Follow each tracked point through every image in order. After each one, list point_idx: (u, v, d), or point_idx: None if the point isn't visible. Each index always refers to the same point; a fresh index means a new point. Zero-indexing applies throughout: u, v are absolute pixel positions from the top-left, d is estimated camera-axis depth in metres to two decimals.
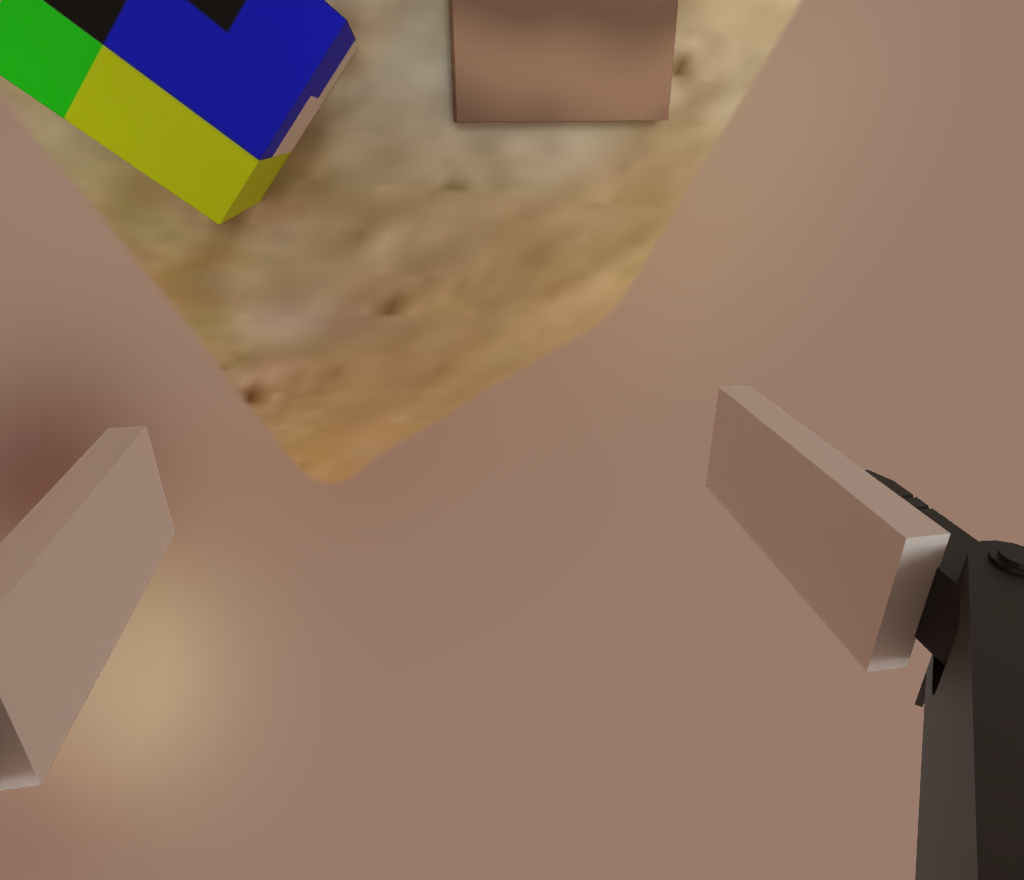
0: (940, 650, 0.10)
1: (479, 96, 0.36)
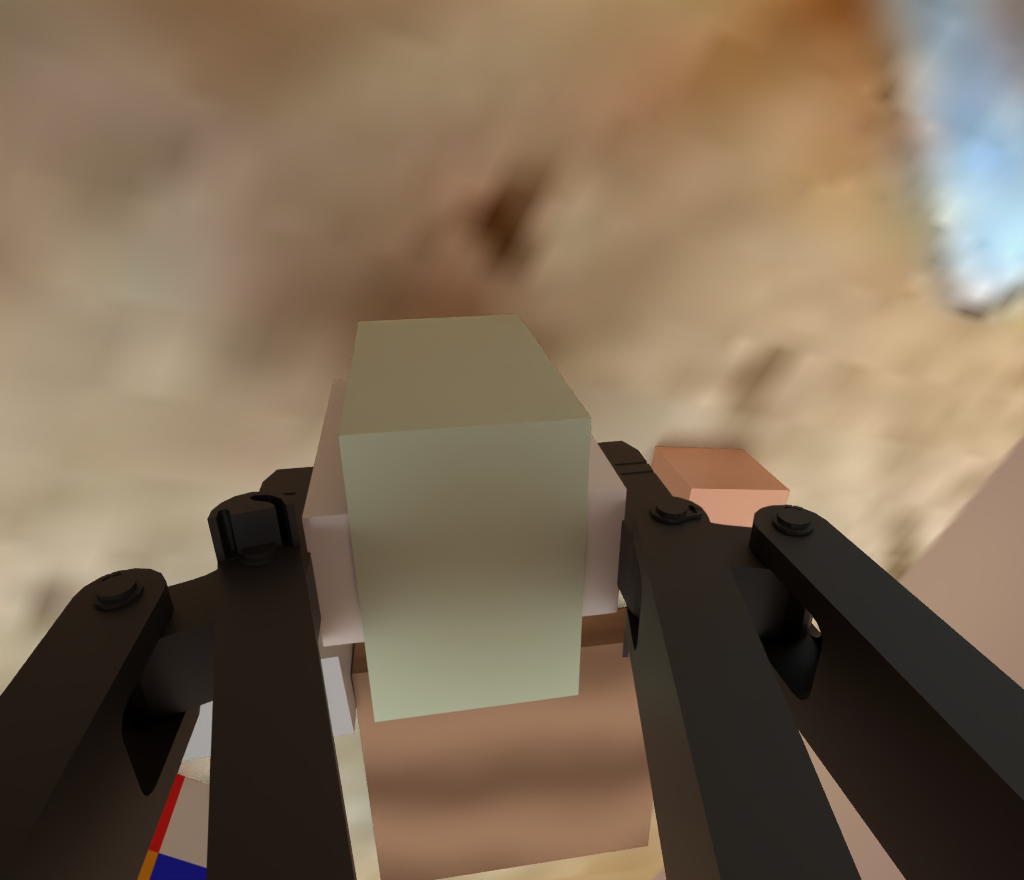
0: (626, 594, 0.12)
1: (409, 865, 0.28)
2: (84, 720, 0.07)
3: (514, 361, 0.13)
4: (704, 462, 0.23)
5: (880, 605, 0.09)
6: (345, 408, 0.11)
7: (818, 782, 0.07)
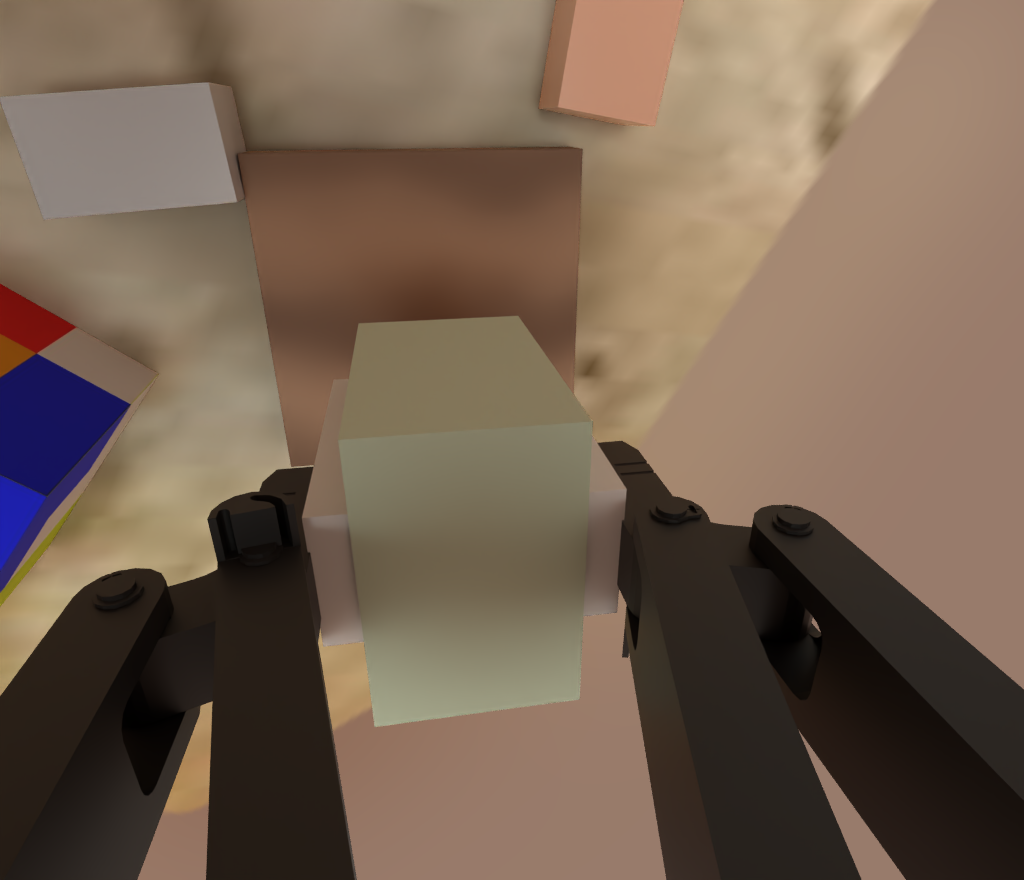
0: (626, 594, 0.12)
1: (318, 438, 0.27)
2: (84, 720, 0.07)
3: (515, 364, 0.13)
4: None
5: (880, 605, 0.09)
6: (345, 412, 0.11)
7: (819, 783, 0.07)
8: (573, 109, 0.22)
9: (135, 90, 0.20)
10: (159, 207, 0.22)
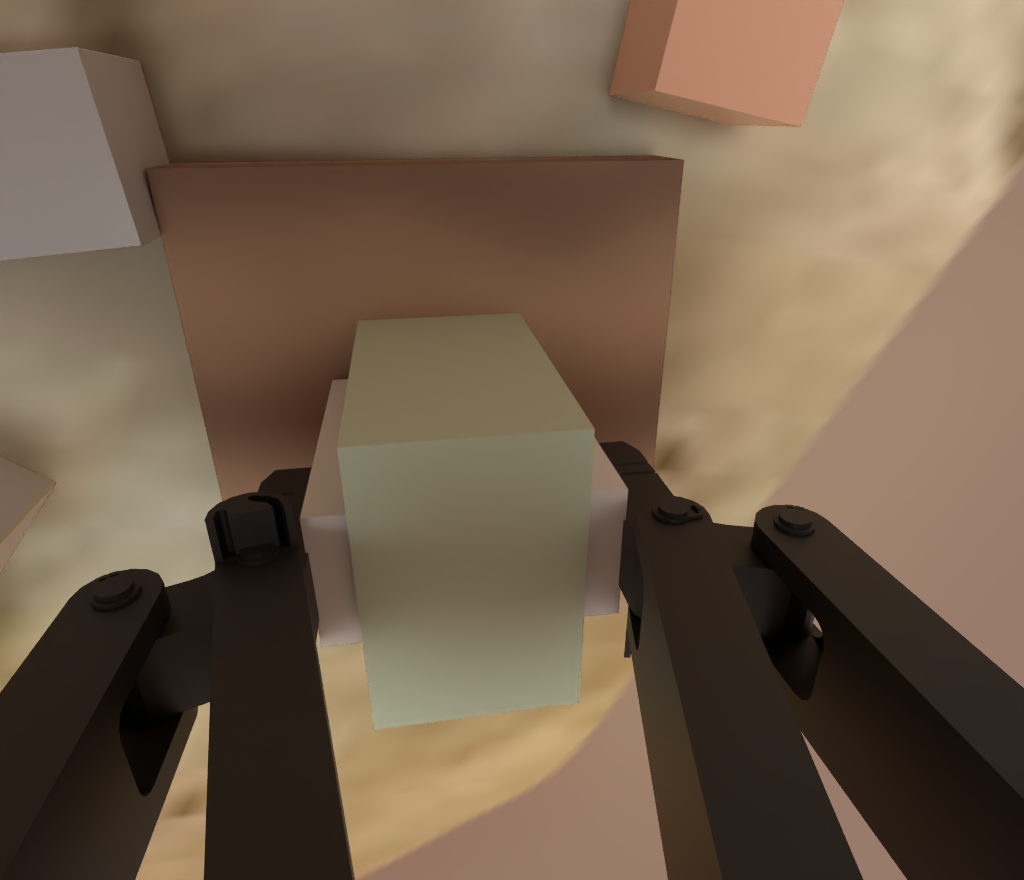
0: (628, 594, 0.12)
1: None
2: (81, 721, 0.07)
3: (516, 366, 0.13)
4: None
5: (881, 605, 0.09)
6: (344, 417, 0.11)
7: (820, 783, 0.07)
8: (678, 95, 0.14)
9: None
10: (13, 256, 0.13)
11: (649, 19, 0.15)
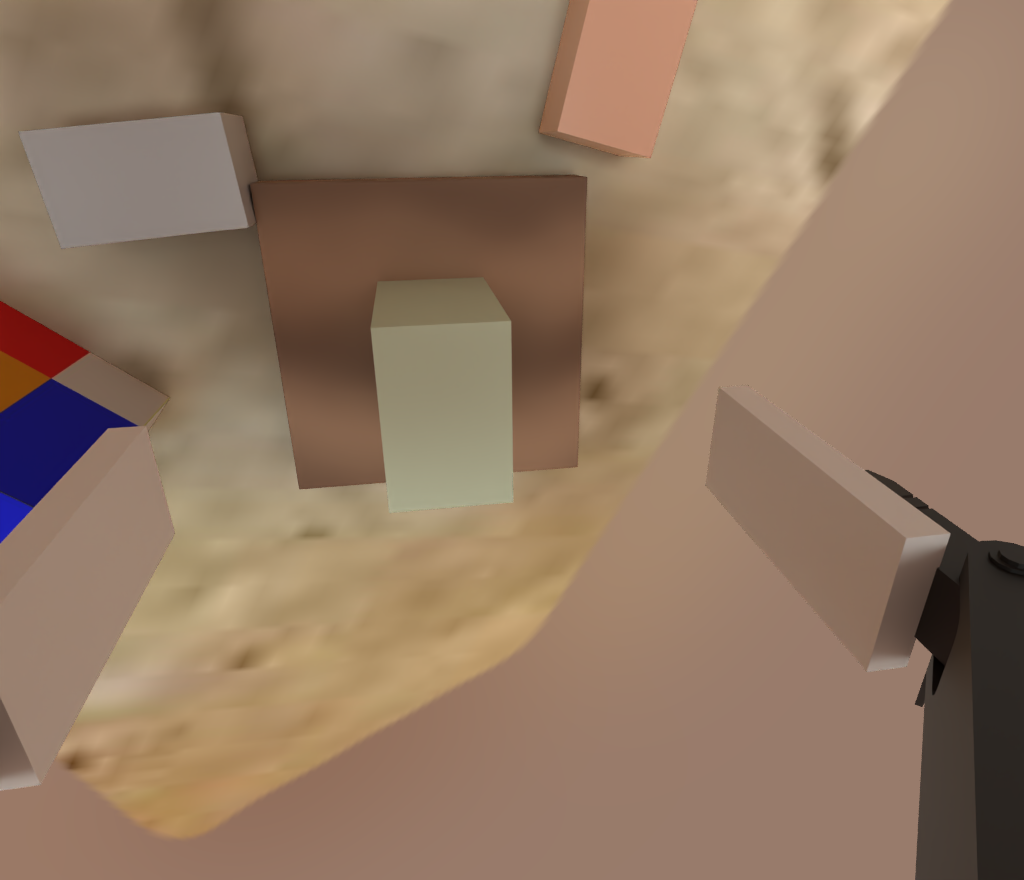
0: (940, 650, 0.10)
1: (326, 461, 0.28)
2: None
3: (475, 299, 0.22)
4: None
5: None
6: (373, 318, 0.20)
7: None
8: (572, 135, 0.23)
9: (149, 122, 0.21)
10: (173, 234, 0.22)
11: (558, 87, 0.23)
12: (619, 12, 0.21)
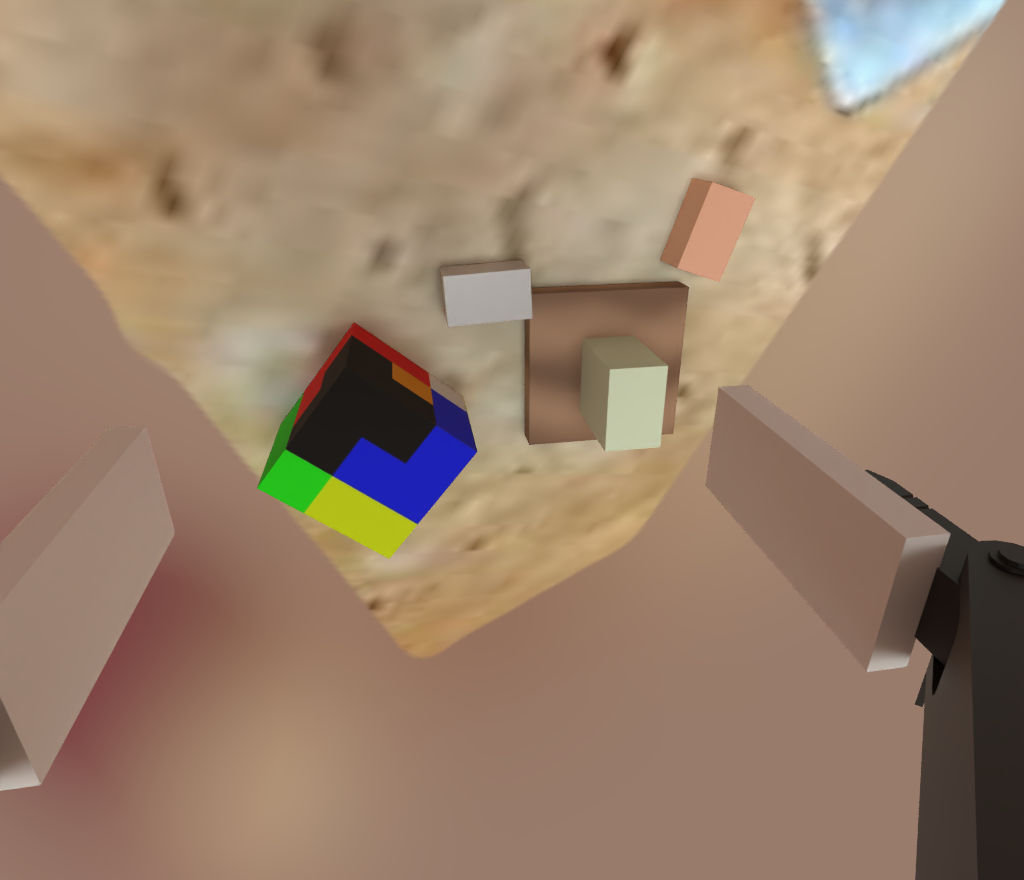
0: (940, 651, 0.10)
1: (545, 429, 0.52)
2: None
3: (642, 352, 0.47)
4: None
5: None
6: (605, 363, 0.44)
7: None
8: (684, 269, 0.47)
9: (499, 272, 0.45)
10: (498, 321, 0.47)
11: (677, 244, 0.48)
12: (712, 218, 0.46)
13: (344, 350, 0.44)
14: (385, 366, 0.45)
